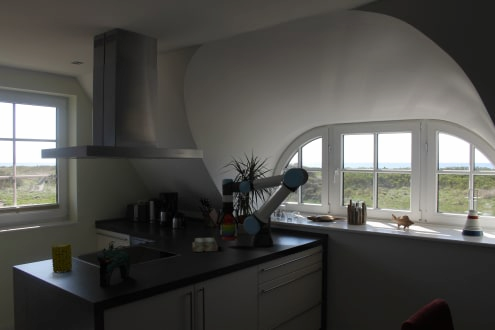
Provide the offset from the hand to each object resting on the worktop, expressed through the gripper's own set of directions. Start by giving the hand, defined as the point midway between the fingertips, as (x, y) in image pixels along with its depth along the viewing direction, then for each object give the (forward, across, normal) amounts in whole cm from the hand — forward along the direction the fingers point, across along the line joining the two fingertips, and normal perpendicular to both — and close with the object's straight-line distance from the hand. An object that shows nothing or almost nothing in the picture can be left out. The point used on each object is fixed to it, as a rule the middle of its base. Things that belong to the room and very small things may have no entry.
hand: (228, 234), depth 267 cm
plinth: (+8, +16, +4) cm, 19 cm away
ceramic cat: (+9, +64, +68) cm, 93 cm away
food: (+8, +94, +44) cm, 104 cm away
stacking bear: (+4, 0, 0) cm, 4 cm away
